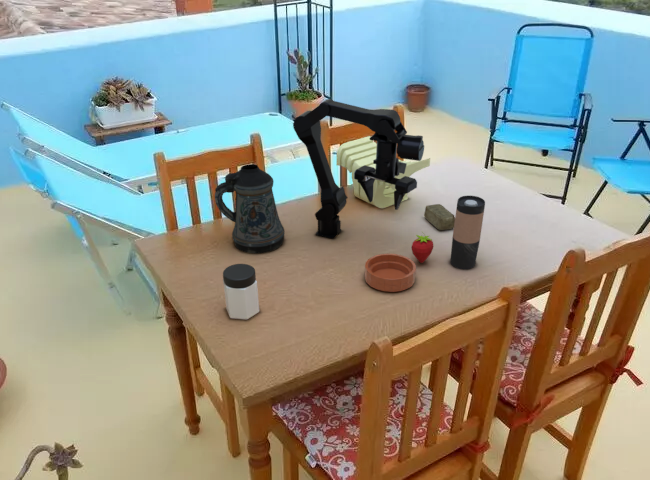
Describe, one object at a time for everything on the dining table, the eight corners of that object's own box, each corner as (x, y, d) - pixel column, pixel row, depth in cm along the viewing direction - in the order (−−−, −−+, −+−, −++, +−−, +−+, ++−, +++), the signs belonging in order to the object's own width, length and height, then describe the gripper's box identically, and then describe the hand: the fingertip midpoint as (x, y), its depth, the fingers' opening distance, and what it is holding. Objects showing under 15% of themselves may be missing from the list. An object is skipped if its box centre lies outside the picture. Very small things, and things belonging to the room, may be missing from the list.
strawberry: (405, 264, 172) (408, 234, 166) (418, 254, 177) (421, 224, 171) (423, 270, 169) (426, 240, 163) (436, 260, 174) (439, 230, 168)
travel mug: (477, 258, 174) (486, 197, 163) (474, 271, 168) (484, 208, 157) (451, 255, 176) (459, 193, 165) (447, 267, 170) (455, 204, 159)
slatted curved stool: (336, 191, 217) (336, 145, 208) (368, 181, 226) (369, 135, 216) (393, 219, 197) (396, 169, 188) (425, 206, 205) (430, 157, 196)
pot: (356, 286, 162) (357, 271, 160) (375, 263, 173) (376, 249, 170) (404, 298, 157) (405, 283, 154) (421, 273, 167) (422, 259, 165)
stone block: (439, 232, 189) (441, 218, 186) (422, 218, 198) (423, 204, 195) (455, 229, 190) (457, 215, 188) (437, 215, 199) (439, 201, 197)
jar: (244, 297, 158) (240, 259, 152) (265, 308, 154) (263, 269, 147) (219, 312, 152) (214, 273, 146) (241, 324, 148) (237, 284, 142)
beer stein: (295, 242, 184) (292, 167, 171) (243, 263, 174) (236, 184, 161) (265, 224, 195) (260, 152, 182) (214, 242, 185) (205, 168, 172)
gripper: (428, 154, 168) (424, 204, 176) (375, 142, 178) (373, 189, 186) (408, 166, 161) (404, 217, 169) (353, 152, 171) (352, 201, 179)
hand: (383, 205), depth 176 cm, fingers open, 9 cm apart
